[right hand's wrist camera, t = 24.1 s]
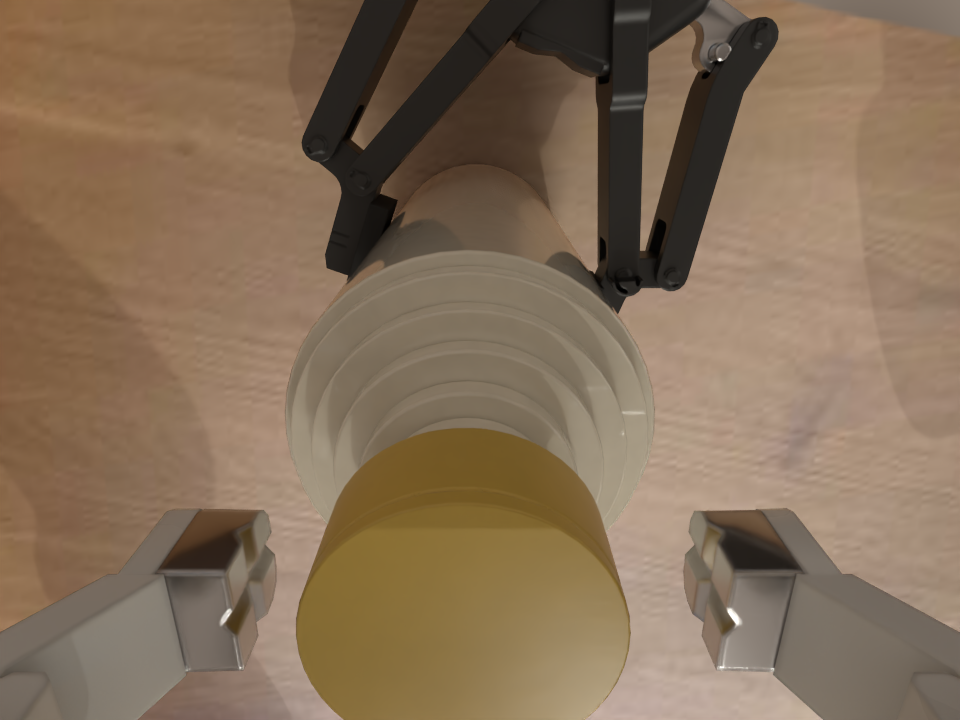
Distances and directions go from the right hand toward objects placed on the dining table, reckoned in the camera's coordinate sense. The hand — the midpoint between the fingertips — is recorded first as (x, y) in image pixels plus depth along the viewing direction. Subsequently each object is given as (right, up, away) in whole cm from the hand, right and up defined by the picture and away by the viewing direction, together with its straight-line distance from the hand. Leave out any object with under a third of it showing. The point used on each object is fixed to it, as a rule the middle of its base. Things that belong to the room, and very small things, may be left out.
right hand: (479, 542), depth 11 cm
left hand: (-2, +2, +17) cm, 17 cm away
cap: (0, -1, -2) cm, 2 cm away
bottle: (0, +9, +22) cm, 23 cm away
